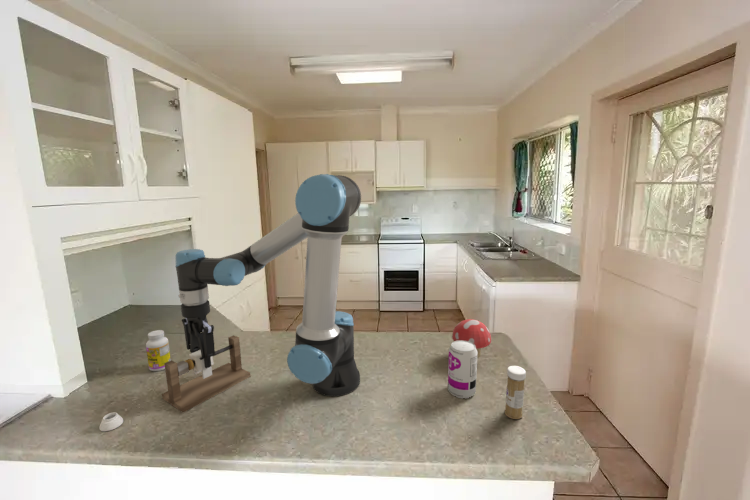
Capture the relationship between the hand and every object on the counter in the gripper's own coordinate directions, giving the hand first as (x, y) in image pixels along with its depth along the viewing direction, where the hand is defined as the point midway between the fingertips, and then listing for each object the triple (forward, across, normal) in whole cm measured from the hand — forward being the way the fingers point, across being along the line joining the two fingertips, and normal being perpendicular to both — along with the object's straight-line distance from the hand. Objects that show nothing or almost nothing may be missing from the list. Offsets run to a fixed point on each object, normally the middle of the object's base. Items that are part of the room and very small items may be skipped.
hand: (203, 373), depth 106 cm
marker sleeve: (-3, 0, 0) cm, 3 cm away
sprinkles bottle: (+5, +83, +40) cm, 92 cm away
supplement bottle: (+5, -26, -1) cm, 27 cm away
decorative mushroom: (+5, +63, +62) cm, 89 cm away
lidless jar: (+6, -5, -23) cm, 24 cm away
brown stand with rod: (+5, 0, +1) cm, 5 cm away
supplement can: (+5, +67, +42) cm, 79 cm away
